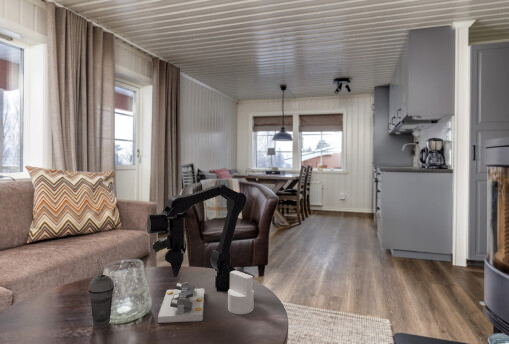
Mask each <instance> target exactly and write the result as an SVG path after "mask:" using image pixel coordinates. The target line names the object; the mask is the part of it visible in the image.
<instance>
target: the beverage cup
mask: <svg viewBox="0 0 509 344" xmlns="http://www.w3.org/2000/svg"><path fill="white" fill-rule="evenodd" d="M97 271H98V272H97V273H98V274H97V275H96V276H95V277H94V278H92V280H91V281H90V283H89V285H88V295H89V298H90V306H91V307H90V308H91V316H92V318H91V319H92V323H93V328H94V329H97V330H101V329H105V328H107V327H108V326H110V324H109V322H110V321H111V317H110V316H111V315H112V306H113V303H112V302H113V293H114V289H115V285H114V284H115V283H114V281H113V279H112V277H110V276H109V275H107V274H101V269H100V261H99V260H97Z"/></svg>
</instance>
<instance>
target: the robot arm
mask: <svg viewBox="0 0 509 344" xmlns="http://www.w3.org/2000/svg"><path fill="white" fill-rule="evenodd" d="M219 196H220V197H222V198H223V199H225V200H226V204H225V205H226V210H227V212H226V216H225V219H224V224H223V228H222V231H221V234H220V235H221V236H220V239H219V243H218V246H217V247H216V249H212V250H211V253H210V254H211V255H210V257H209V260H210V265H211V267H212V268H213V269H214V271H215V272H216V275H214V276H215V278H214V280H215V281H214V284H215V285H214V288H215V290H216V291H217V292H228V290H229V289H230V272H232V271H235V270H236V271H237V269H236V268H235V267H233V266H232V265H231V262H232V256H231V247H232V243H233V240H234V236H235V231H236V227H237V222H238V219H239V216H240V214H242V212H243V210H244V209H245V206H246V204H247V201H248V200H247V199H248V197H247V196H246V194H245V193H243V192H241V191H240V192H239V191H235V190H233V189H231V188H229V187H228V186H227V185H225V184H220V183H218V184H216V185H214V186H211V187H208V188H205V189H202V190H201V189H200V190H198V191H196V192H192V193H190V194H189V193H188V194H179V195H173V196H171V197H169V198H168V200H167V202H166V205H165V206H164V208H163V210H162V211H161V212H160V213H155V214H154V213H149V214H148V215H147V216H148V217H147V221H146V232H147V234H148V235H150V234H151V235H152V234H159V233H166V231H168V235H167V236H165V237H162V238H160V239H157V240H154V241H153V243H152V244H151V245H152V250H154V252H155V253H158V252H159V251H162V250H164V249H166V250H167V251H166V252H165V254H164V261H165V262H166V263H169V264H170V267H171V270H172V275H173V277H174V278H177V277H178V275H179V273H180V270H181V268H182V265H183V263H184V260H185V253H186V252H187V251H186V250H187V246H188V245H187V244H188V242H187V240H186V239H185V235H186V229H185V228H186V227H185V222H186V221H185V219H190V218H191V215H189V214H188V213H187V210H189V209H191V208H192V207H193V206H195V205H197V204H199V203H201V202H205V201H208V200H211V199H213V198H217V197H219Z"/></svg>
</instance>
